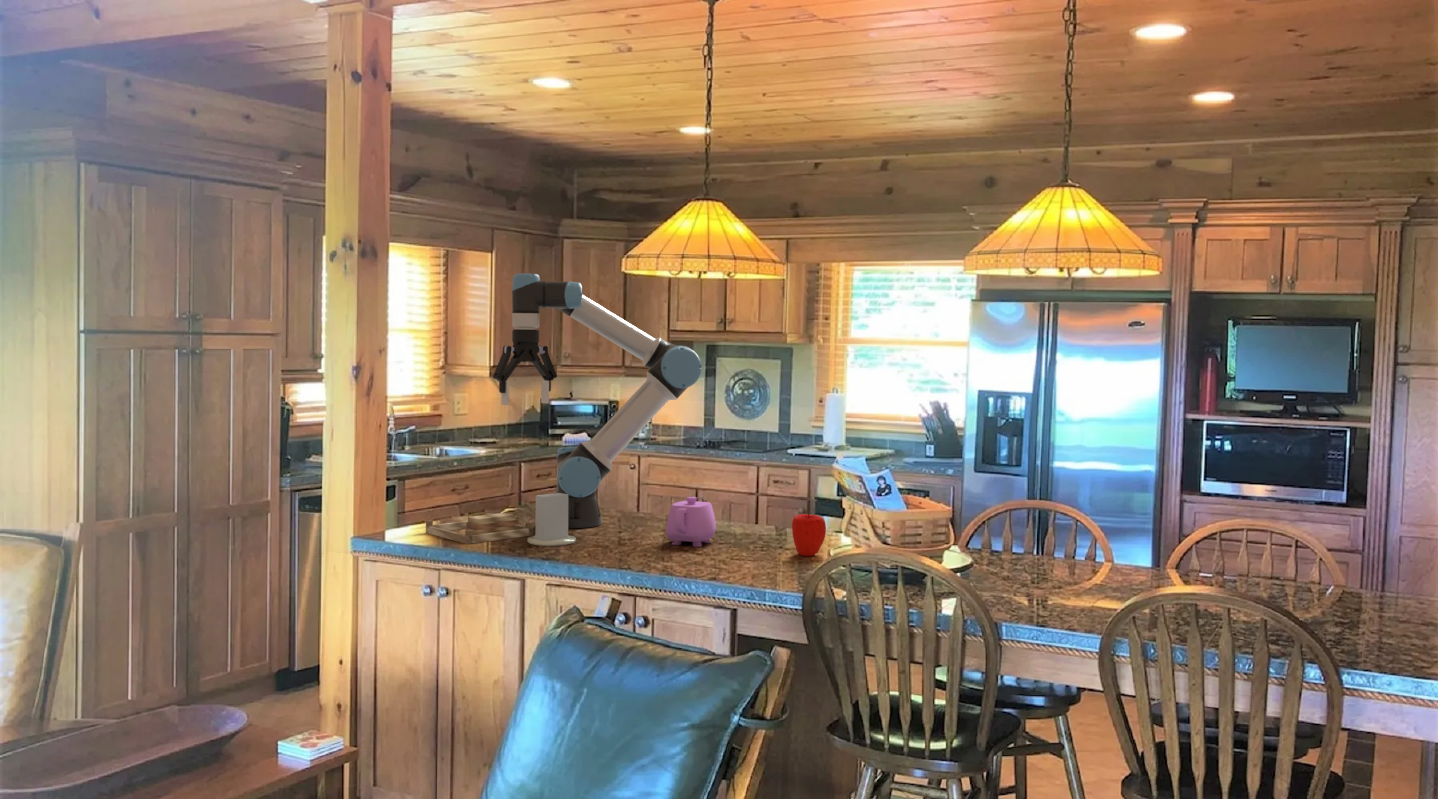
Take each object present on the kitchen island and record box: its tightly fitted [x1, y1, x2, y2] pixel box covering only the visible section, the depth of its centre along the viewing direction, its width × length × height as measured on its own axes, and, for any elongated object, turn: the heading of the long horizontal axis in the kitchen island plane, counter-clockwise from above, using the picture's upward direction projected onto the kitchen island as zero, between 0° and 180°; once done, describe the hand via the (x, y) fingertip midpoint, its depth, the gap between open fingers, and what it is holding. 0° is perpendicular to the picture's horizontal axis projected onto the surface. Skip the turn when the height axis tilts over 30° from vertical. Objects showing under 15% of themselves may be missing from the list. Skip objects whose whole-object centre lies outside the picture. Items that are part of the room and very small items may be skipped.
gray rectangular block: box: [535, 492, 569, 541], centre depth 314 cm, size 8×4×12 cm, turn 134°
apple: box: [791, 513, 827, 557], centre depth 301 cm, size 9×9×11 cm
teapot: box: [665, 496, 717, 548], centre depth 315 cm, size 20×12×13 cm, turn 160°
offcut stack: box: [465, 512, 519, 535], centre depth 319 cm, size 14×5×6 cm, turn 134°
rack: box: [425, 512, 534, 545], centre depth 324 cm, size 21×22×4 cm
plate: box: [527, 534, 577, 547], centre depth 314 cm, size 13×13×1 cm
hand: (525, 404), depth 325 cm, fingers open, 13 cm apart
